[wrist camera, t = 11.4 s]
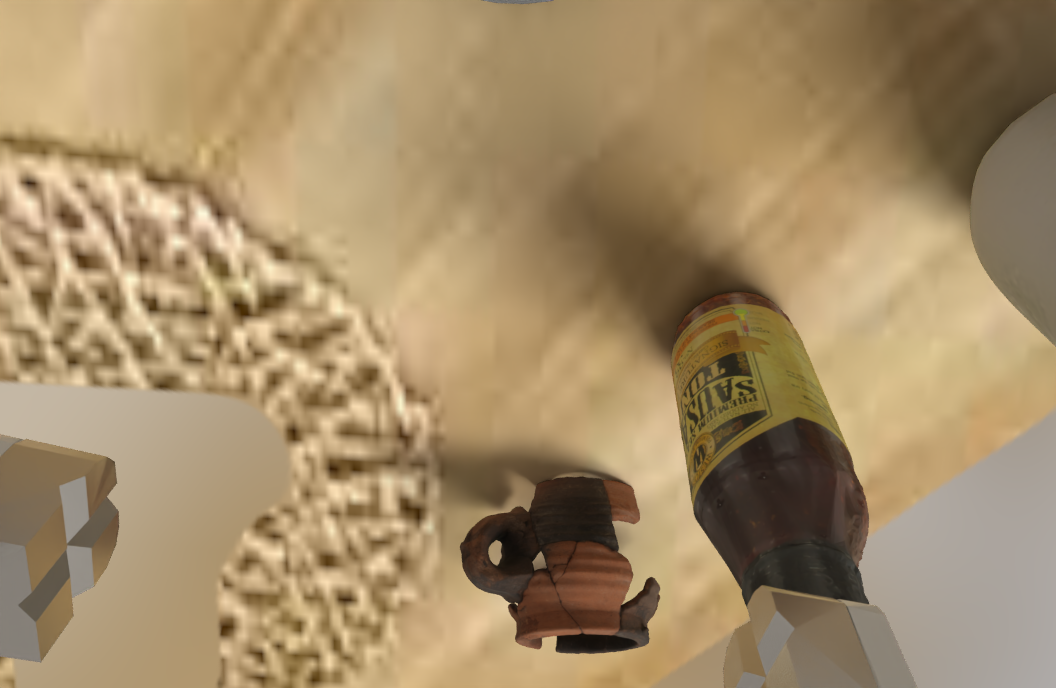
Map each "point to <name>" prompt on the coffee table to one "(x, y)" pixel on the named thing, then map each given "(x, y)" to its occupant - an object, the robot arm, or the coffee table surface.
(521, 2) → the dial plate
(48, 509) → the robot arm
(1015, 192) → the grey bottle
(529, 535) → the pottery mug
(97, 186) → the coffee table surface
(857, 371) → the coffee table surface
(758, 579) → the sauce bottle
